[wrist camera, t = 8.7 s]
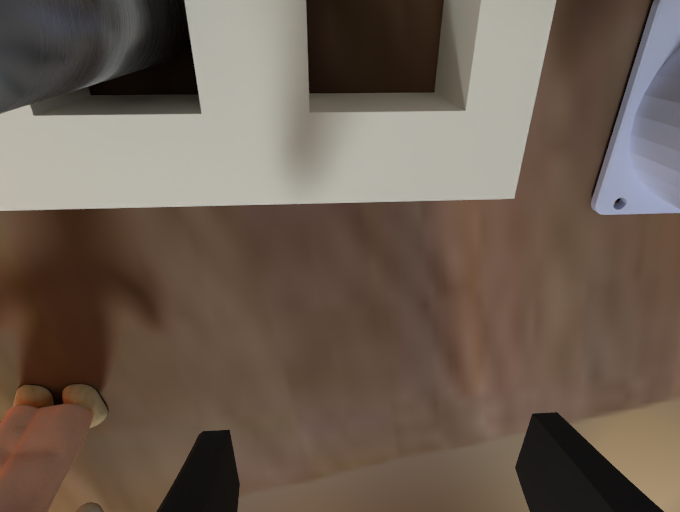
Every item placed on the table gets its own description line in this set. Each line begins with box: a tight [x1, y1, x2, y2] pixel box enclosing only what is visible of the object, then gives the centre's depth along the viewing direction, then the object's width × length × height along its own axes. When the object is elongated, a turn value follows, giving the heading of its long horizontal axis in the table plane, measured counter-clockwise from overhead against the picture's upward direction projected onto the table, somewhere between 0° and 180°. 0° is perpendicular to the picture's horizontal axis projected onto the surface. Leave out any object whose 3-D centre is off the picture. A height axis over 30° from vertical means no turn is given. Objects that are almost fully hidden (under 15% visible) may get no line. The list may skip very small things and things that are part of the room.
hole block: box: [0, 0, 556, 211], centre depth 12 cm, size 16×10×4 cm, turn 90°
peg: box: [0, 0, 189, 114], centre depth 10 cm, size 3×3×9 cm
